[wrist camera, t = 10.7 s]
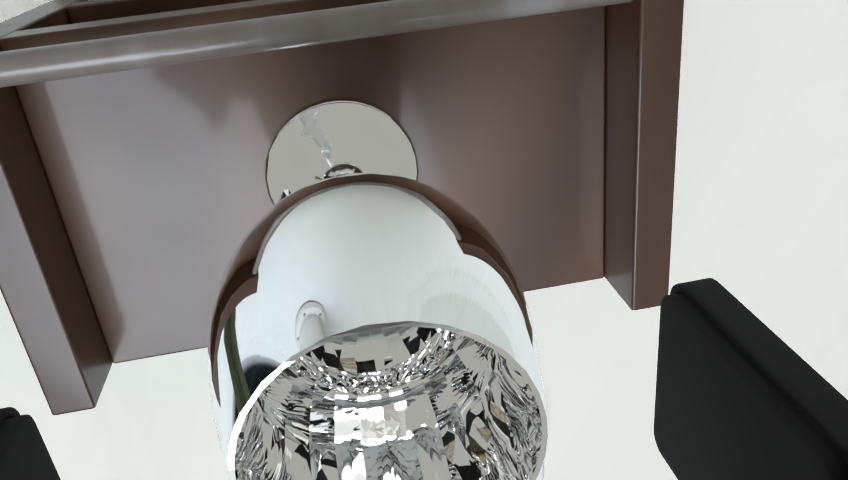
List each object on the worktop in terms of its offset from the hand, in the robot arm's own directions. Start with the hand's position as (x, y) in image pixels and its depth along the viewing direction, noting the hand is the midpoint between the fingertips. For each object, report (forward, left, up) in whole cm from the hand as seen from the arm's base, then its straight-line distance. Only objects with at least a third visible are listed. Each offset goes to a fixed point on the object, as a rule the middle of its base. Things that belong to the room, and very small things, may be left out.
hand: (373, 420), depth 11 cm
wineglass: (0, 0, -12) cm, 12 cm away
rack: (0, 0, -20) cm, 20 cm away
